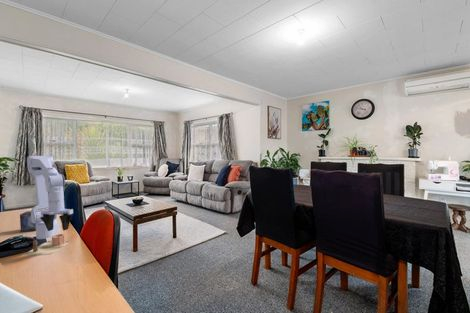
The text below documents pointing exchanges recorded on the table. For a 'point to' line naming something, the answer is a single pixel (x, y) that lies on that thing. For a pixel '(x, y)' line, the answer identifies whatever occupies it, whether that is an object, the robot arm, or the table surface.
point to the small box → (26, 222)
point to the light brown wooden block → (58, 239)
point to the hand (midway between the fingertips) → (58, 230)
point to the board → (44, 248)
